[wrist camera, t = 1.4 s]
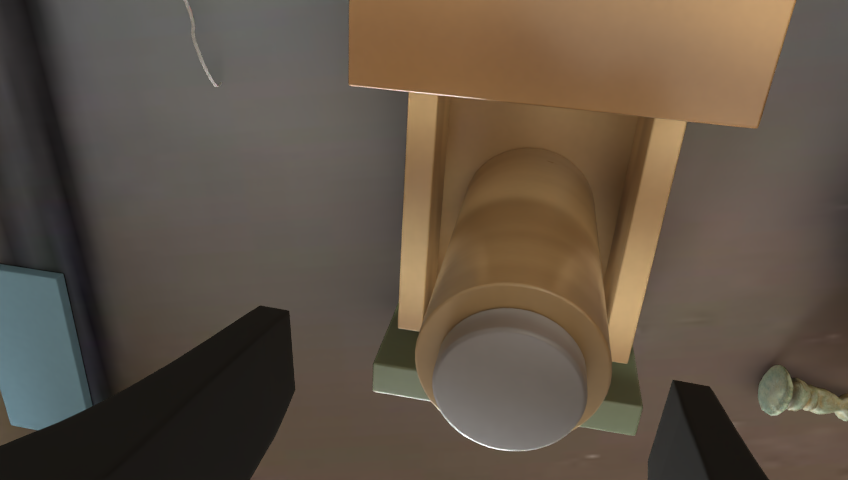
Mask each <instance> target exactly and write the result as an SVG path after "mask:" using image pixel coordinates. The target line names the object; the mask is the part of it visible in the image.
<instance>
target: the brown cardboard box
mask: <svg viewBox="0 0 848 480" xmlns="http://www.w3.org/2000/svg"><path fill="white" fill-rule="evenodd" d="M795 2H796V0H349V85H350V86H355V87H365V88H374V89H384V90H393V91H403V92H412V93H422V94H431V95H441V96H450V97H460V98H469V99H479V100H488V101H498V102H507V103H517V104H526V105H536V106H545V107H555V108H564V109H574V110H583V111H593V112H602V113H612V114H621V115H631V116H640V117H650V118H659V119H669V120H678V121H688V122H698V123H707V124H717V125H726V126H736V127H745V128H758V126H759V123H760V120H761V117H762V113H763V110H764V107H765V103H766V100H767V96H768V93H769V90H770V86H771V83H772V80H773V76H774V73H775V70H776V66H777V63H778V59H779V56H780V53H781V49H782V46H783V43H784V39H785V36H786V33H787V29H788V26H789V23H790V19H791V16H792V12H793V9H794V6H795Z"/></svg>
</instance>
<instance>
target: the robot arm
mask: <svg viewBox="0 0 848 480" xmlns="http://www.w3.org/2000/svg"><path fill="white" fill-rule="evenodd" d="M294 391H295V381H294V368H293V355H292V342H291V328H290V315H289V311H287V310H282V309H276V308H271V307H265V306H259V307H257V308H256V309H254V310H252V311H251V312H249V313H247V314H246V315H244V316H243V317H241V318H240V319H238V320H237V321H235V322H234V323H232V324H231V325H229V326H228V327H226V328H225V329H223V330H221V331H220V332H218V333H217V334H215V335H214V336H212V337H211V338H209V339H208V340H206V341H205V342H203V343H201V344H200V345H198V346H197V347H195V348H194V349H192V350H191V351H189V352H187V353H186V354H184V355H183V356H181V357H180V358H178V359H176V360H175V361H173V362H172V363H170V364H168V365H166V366H165V367H163V368H161V369H159V370H158V371H156V372H154V373H153V374H151V375H149V376H147V377H146V378H144V379H142V380H141V381H139V382H137V383H135V384H134V385H132V386H130V387H128V388H127V389H125V390H123V391H121V392H119V393H117V394H116V395H114V396H112V397H110V398H108V399H106V400H104V401H102V402H100V403H98V404H96V405H94V406H92V407H90V408H88V409H86V410H84V411H81V412H79V413H77V414H75V415H73V416H71V417H69V418H67V419H64V420H62V421H60V422H58V423H55V424H53V425H51V426H48V427H46V428H43V429H41V430H38V431H36V432H33V433H31V434H29V435H26V436H24V437H21V438H19V439H16V440H14V441H12V442H9V443H7V444H4V445H2V446H0V480H250V478H251V477H252V475H253V473H254V471H255V470H256V468H257V466H258V465H259V463H260V461H261V460H262V458H263V456H264V454H265V453H266V451H267V449H268V448H269V446H270V444H271V442H272V441H273V439H274V437H275V435H276V433H277V431H278V429H279V427H280V424H281V422H282V420H283V418H284V415H285V413H286V411H287V408H288V406H289V403H290V401H291V399H292V396H293V394H294ZM648 480H769V479H768V478H767V476H766V475H765V473H764V472H763V470H762V469H761V467H760V466H759V464H758V463H757V461H756V460H755V458H754V457H753V455H752V454H751V452H750V451H749V449H748V448H747V446H746V444H745V443H744V441H743V440H742V438H741V436H740V435H739V433H738V432H737V430H736V428H735V427H734V425H733V423H732V422H731V420H730V419H729V417H728V415H727V414H726V412H725V410H724V409H723V407H722V405H721V404H720V402H719V400H718V399H717V397H716V395H715V394H714V392H713V391H712V389H711V388H710V387H709V386H704V385H698V384H693V383H687V382H682V381H676V380H673V381H672V384H671V388H670V391H669V394H668V397H667V401H666V404H665V407H664V410H663V414H662V417H661V420H660V423H659V427H658V430H657V433H656V436H655V440H654V443H653V446H652V450H651V453H650V456H649V459H648Z"/></svg>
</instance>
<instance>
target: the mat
mask: <svg viewBox="0 0 848 480" xmlns="http://www.w3.org/2000/svg"><path fill="white" fill-rule="evenodd" d="M0 390H1V393H2V397H3V400H4V403H5V407H6V410H7V413H8V417H9V420H10V423H11V425H13V426H18V427H24V428H29V429H34V430H41V429H43V428H46V427H48V426H51V425H53V424H55V423H58V422H60V421H62V420H64V419H67V418H69V417H71V416H73V415H75V414H77V413H79V412H81V411H84V410H86V409H88V408H90V407H92V401H91V396H90V392H89V387H88V383H87V378H86V374H85V369H84V365H83V360H82V356H81V351H80V347H79V342H78V337H77V333H76V328H75V324H74V319H73V315H72V310H71V306H70V301H69V297H68V292H67V288H66V283H65V279H64V274H62V273H55V272H49V271H42V270H36V269H29V268H23V267H16V266H10V265H3V264H0Z"/></svg>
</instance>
